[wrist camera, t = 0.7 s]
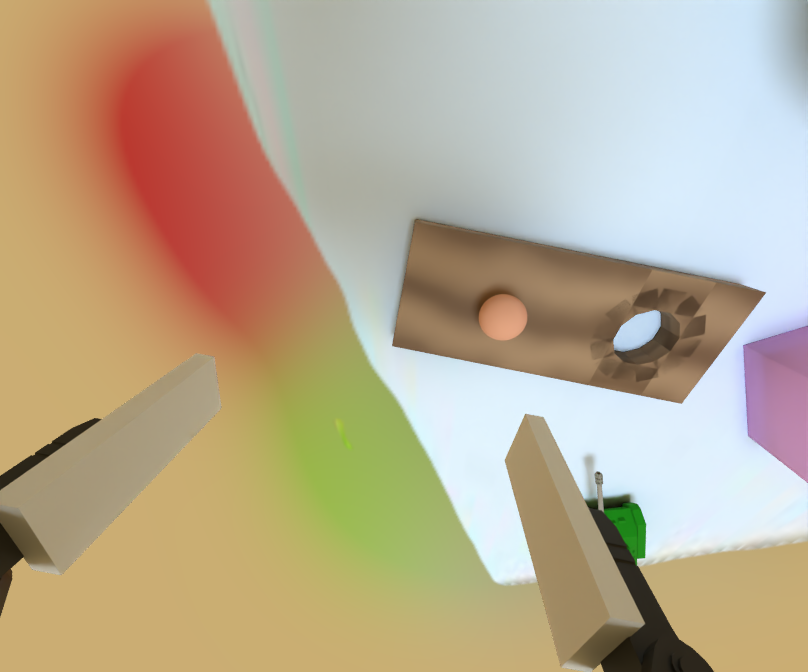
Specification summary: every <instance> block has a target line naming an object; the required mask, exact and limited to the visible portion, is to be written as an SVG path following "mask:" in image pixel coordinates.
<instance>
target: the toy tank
mask: <svg viewBox="0 0 808 672" xmlns="http://www.w3.org/2000/svg"><path fill="white" fill-rule="evenodd" d="M595 482H596V484H597V493H598V509H597V510H602V511H603V512H604V514H605V515H606V516H607V517H608V518H609V519H610V520H611V522H612V523H613V524H614V525H615V526H616V527H617V529H618V531H619V533H620V534H621V536H622V538H623V540H624V542H625V543H626V545H627V550H629V551H630V553H631V554H632V556H633V558H634V560H635V562H636V563H635V564H636V566H637V559H639V558H645V544H646V523H645V520H644V517H643V514H642V512H641V509H640V507H639V506H638V504H635V503H623V504H622V507H617V508H608V509H607V508H606V509H604V507H603V495H602V484H603V475H602V474H601V473H600V472H596V473H595Z"/></svg>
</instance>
